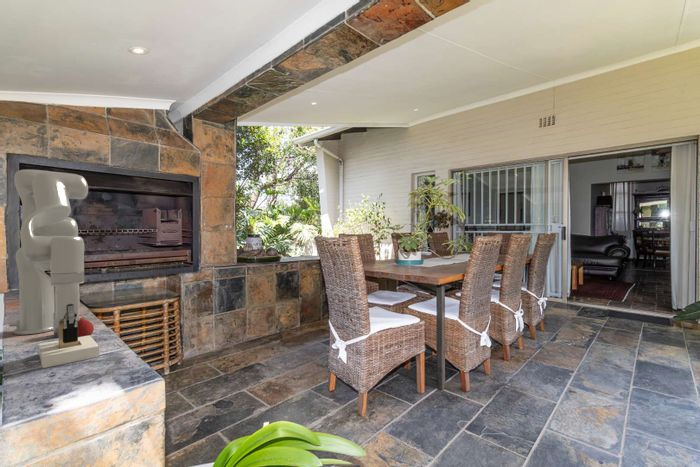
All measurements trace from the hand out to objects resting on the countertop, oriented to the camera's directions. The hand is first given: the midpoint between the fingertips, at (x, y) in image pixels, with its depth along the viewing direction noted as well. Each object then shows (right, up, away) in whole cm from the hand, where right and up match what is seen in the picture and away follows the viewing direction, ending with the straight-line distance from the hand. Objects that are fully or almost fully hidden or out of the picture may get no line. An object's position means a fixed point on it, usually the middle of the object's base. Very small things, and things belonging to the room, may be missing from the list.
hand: (68, 338), depth 100 cm
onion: (-6, -5, +14) cm, 16 cm away
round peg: (-19, -5, +23) cm, 30 cm away
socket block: (0, -5, 0) cm, 5 cm away
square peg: (0, -5, 0) cm, 5 cm away
